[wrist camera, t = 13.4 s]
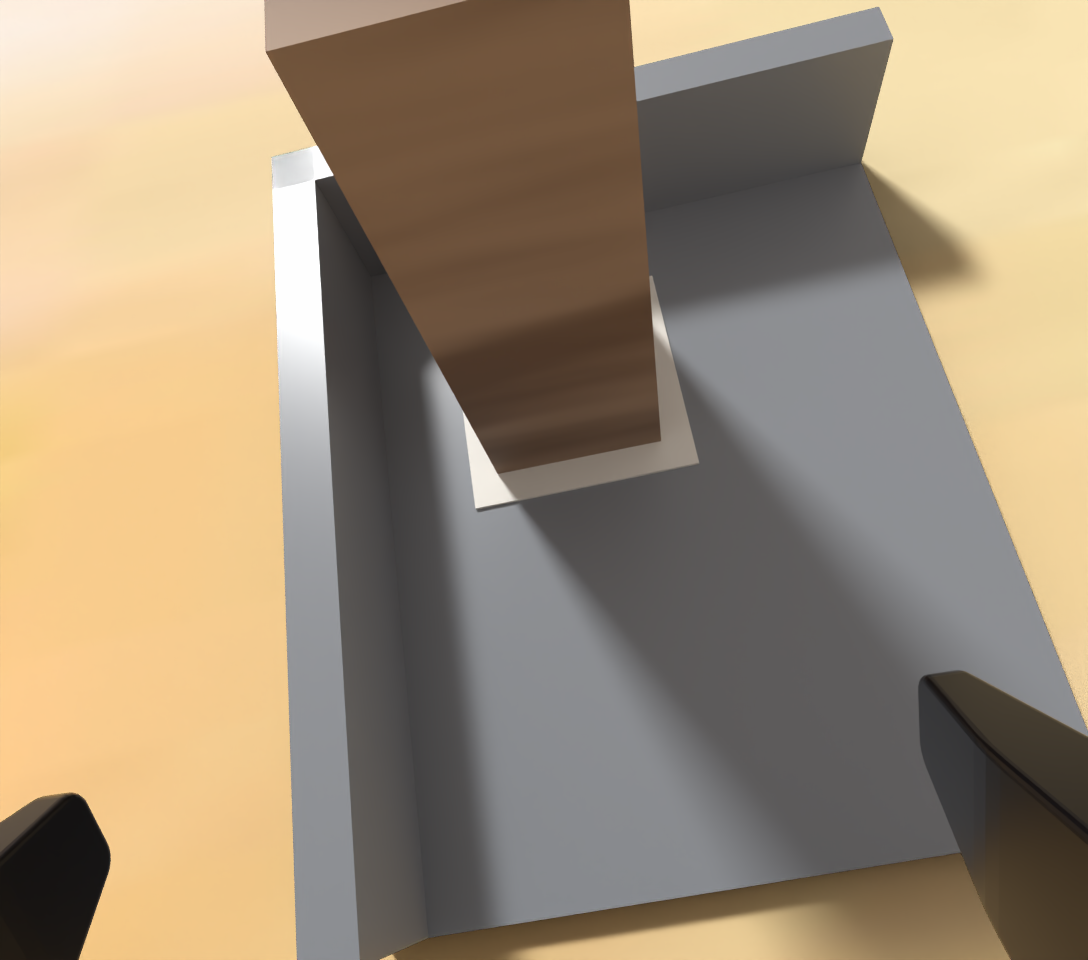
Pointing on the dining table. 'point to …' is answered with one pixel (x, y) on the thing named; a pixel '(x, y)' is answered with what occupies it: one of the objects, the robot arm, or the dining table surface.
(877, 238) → the tray
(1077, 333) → the dining table surface
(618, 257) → the walnut column
